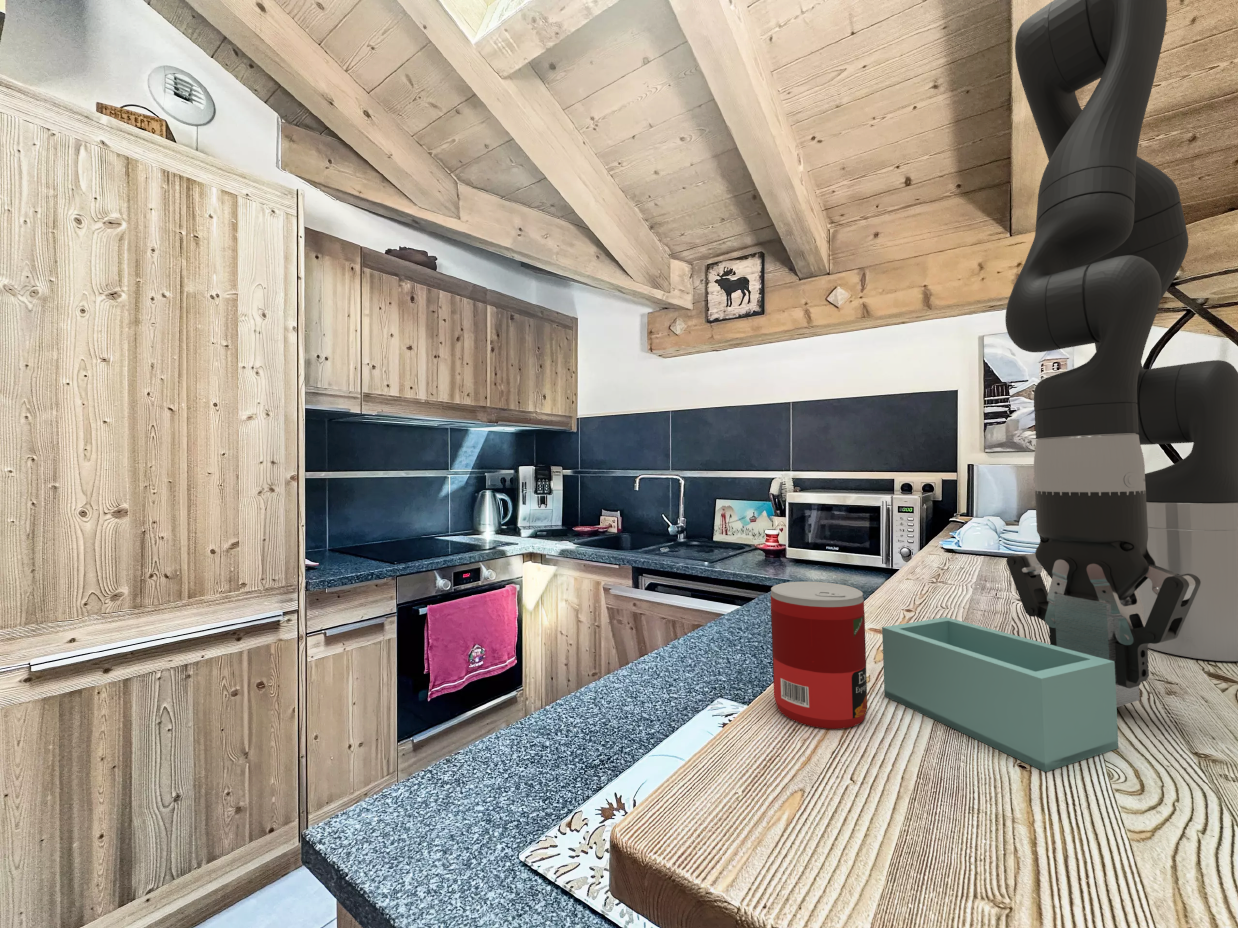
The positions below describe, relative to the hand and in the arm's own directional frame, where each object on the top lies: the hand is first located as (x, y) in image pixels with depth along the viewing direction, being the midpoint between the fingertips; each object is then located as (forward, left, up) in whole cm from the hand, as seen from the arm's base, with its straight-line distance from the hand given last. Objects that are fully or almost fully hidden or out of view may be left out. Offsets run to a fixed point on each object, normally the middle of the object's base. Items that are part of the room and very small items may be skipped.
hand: (1096, 675), depth 47 cm
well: (+11, -2, -3) cm, 12 cm away
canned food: (+23, -9, -3) cm, 25 cm away
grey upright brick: (0, 0, -2) cm, 2 cm away
